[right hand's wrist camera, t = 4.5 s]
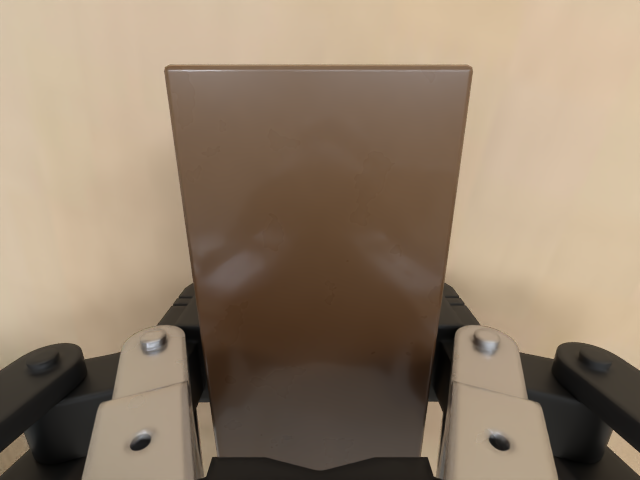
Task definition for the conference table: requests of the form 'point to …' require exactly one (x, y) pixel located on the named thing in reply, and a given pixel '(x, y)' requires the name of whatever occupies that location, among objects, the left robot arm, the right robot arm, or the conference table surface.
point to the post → (318, 249)
